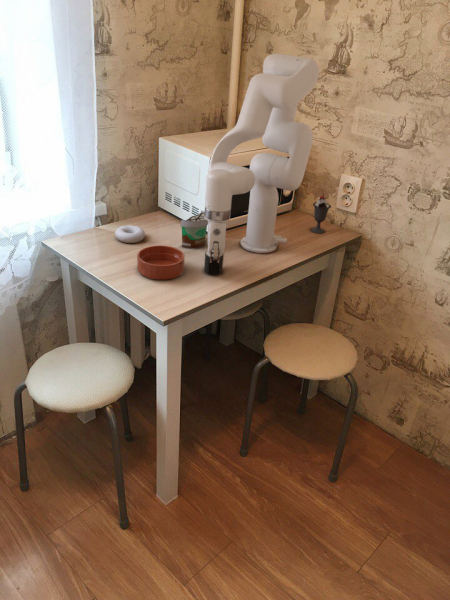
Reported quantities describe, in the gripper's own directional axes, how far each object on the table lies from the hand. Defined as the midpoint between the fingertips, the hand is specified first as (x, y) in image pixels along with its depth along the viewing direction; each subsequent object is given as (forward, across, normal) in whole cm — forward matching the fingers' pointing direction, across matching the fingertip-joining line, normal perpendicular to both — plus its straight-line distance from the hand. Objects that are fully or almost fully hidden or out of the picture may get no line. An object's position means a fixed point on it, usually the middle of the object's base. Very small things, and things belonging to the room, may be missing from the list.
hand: (213, 268), depth 158 cm
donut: (+1, +21, +28) cm, 35 cm away
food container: (+1, +19, +5) cm, 20 cm away
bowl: (+1, -1, +16) cm, 16 cm away
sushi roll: (+1, 0, 0) cm, 1 cm away
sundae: (+1, +38, -40) cm, 55 cm away
